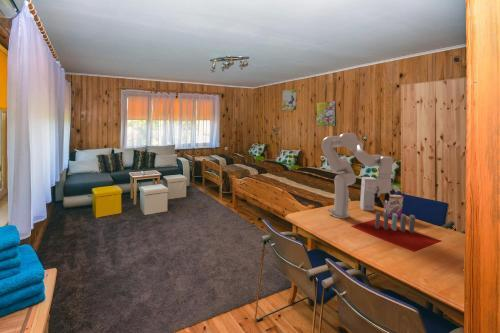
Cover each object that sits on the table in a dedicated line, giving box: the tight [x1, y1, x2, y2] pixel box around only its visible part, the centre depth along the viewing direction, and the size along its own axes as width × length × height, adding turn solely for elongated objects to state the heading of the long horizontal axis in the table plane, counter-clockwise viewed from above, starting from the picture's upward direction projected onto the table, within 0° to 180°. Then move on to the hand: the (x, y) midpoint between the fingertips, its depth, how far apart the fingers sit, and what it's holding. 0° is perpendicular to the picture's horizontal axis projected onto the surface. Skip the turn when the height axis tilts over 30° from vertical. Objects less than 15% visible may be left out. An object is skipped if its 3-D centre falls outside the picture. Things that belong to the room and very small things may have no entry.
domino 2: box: [382, 211, 390, 231], centre depth 186 cm, size 2×5×10 cm, turn 163°
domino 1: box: [374, 211, 381, 230], centre depth 187 cm, size 2×5×10 cm, turn 163°
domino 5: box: [408, 214, 416, 233], centre depth 181 cm, size 2×5×10 cm, turn 163°
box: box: [359, 176, 377, 212], centre depth 225 cm, size 8×8×25 cm
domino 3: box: [390, 213, 398, 232], centre depth 184 cm, size 2×5×10 cm, turn 163°
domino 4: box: [399, 213, 407, 233], centre depth 183 cm, size 2×5×10 cm, turn 163°
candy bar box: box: [382, 194, 404, 219], centre depth 206 cm, size 11×5×16 cm, turn 84°
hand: (381, 201), depth 185 cm, fingers open, 9 cm apart
